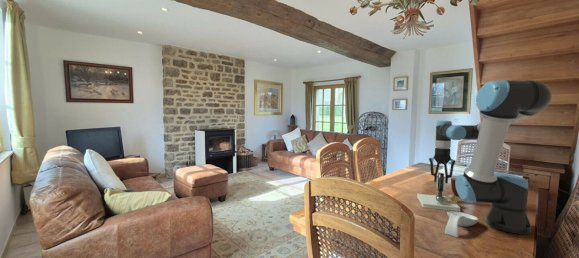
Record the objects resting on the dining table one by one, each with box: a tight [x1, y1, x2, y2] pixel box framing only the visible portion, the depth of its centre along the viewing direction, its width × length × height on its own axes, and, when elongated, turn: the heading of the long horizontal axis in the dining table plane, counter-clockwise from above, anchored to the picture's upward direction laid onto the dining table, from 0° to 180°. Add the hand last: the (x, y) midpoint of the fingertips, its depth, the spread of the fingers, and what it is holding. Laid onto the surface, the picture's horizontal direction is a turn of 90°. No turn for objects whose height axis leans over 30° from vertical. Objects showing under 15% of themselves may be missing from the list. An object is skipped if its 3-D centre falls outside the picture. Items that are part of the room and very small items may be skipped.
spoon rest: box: [444, 211, 479, 238], centre depth 111 cm, size 24×12×7 cm, turn 135°
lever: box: [436, 172, 445, 201], centre depth 139 cm, size 16×4×12 cm, turn 149°
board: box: [416, 193, 461, 212], centre depth 140 cm, size 18×17×6 cm
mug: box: [450, 177, 460, 197], centre depth 154 cm, size 11×8×10 cm
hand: (440, 188), depth 145 cm, fingers closed on lever, 3 cm apart
